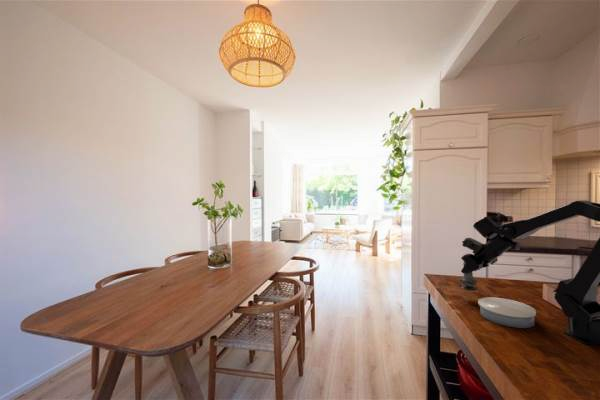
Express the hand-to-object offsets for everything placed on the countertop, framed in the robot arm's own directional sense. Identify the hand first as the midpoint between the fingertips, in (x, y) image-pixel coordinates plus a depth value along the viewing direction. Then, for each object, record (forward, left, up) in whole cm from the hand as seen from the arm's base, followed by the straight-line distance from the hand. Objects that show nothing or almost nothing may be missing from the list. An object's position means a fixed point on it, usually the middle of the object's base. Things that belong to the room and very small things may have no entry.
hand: (464, 271), depth 99 cm
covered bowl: (-16, -5, -11) cm, 20 cm away
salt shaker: (-1, -1, -7) cm, 7 cm away
